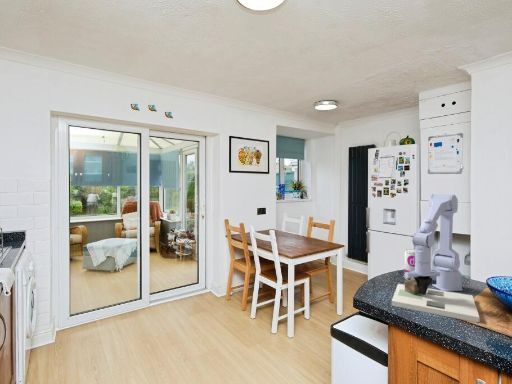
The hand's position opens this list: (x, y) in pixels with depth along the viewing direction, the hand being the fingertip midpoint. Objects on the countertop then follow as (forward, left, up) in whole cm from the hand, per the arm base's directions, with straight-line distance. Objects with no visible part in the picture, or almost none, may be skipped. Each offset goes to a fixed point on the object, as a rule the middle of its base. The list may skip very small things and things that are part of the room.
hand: (422, 293), depth 120 cm
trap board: (-4, +3, -3) cm, 6 cm away
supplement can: (-12, -25, -3) cm, 28 cm away
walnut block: (+1, -5, -1) cm, 5 cm away
